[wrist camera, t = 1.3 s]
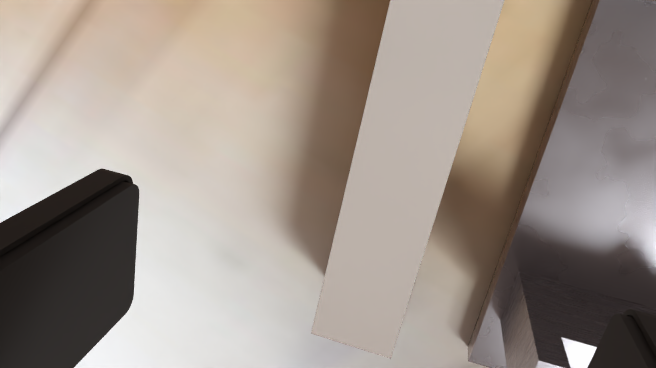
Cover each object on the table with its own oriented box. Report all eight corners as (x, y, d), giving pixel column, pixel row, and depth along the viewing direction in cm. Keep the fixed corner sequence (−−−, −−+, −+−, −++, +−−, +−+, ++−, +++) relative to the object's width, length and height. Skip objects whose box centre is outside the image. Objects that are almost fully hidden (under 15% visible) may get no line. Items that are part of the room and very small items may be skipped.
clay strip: (537, -142, 22) (559, -174, 17) (400, 301, 30) (390, 358, 26) (440, -161, 22) (437, -197, 18) (332, 281, 31) (311, 333, 26)
